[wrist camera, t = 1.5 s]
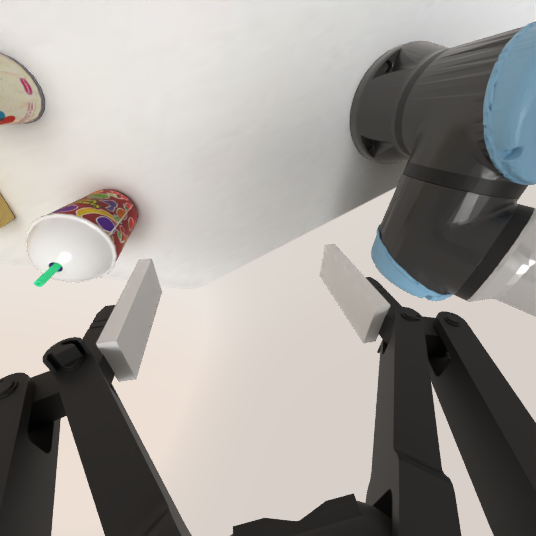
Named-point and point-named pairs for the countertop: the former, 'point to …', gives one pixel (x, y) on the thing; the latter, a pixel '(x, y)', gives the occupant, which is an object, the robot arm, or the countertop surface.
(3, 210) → the yellow box
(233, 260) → the countertop surface
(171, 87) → the countertop surface
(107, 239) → the smoothie
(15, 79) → the aerosol can
